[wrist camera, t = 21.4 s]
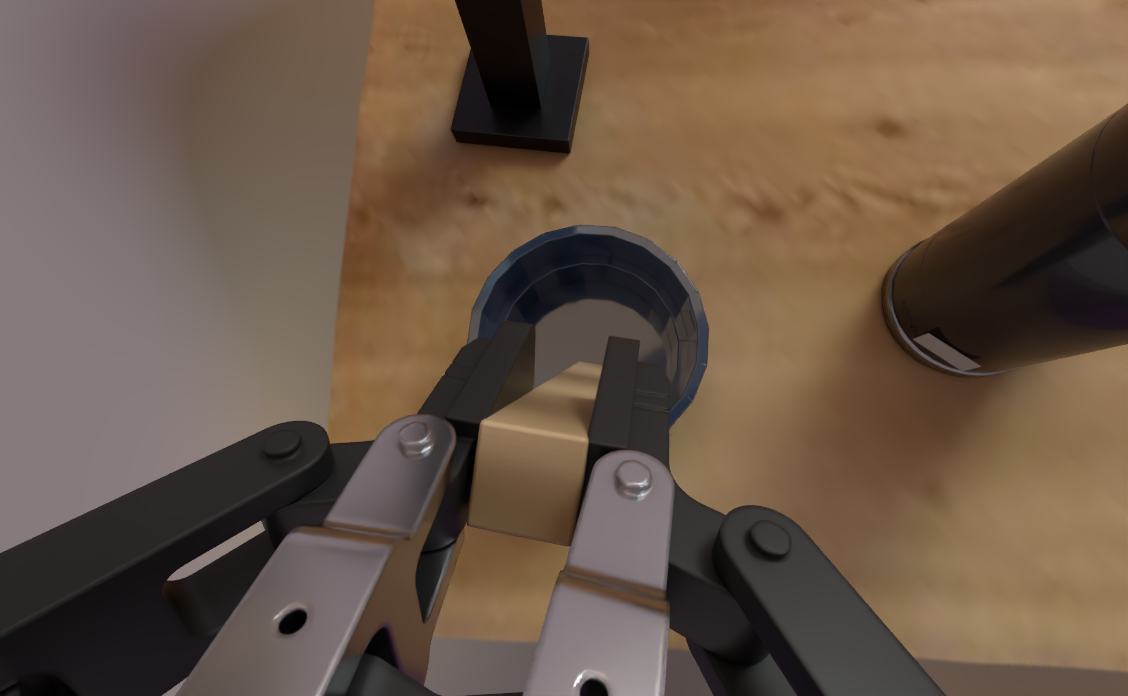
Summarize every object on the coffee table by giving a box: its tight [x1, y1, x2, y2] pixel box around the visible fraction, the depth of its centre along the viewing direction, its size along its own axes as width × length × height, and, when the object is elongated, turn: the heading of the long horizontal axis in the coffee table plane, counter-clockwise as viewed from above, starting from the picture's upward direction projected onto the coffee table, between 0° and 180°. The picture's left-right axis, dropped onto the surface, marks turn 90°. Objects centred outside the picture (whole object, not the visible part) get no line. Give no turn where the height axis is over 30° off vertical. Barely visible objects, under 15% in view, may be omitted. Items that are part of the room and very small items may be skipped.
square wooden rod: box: [467, 362, 603, 546], centre depth 19 cm, size 22×3×2 cm
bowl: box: [467, 225, 709, 429], centre depth 30 cm, size 13×13×6 cm
